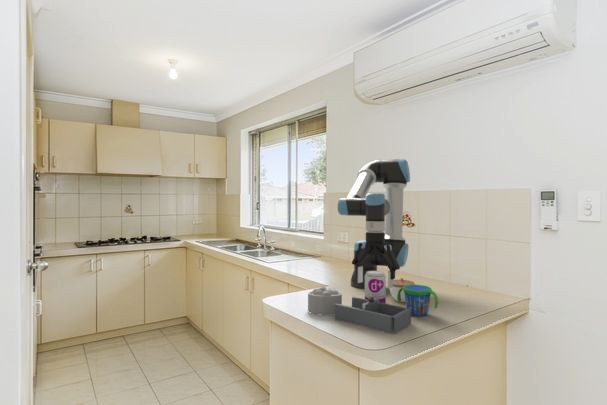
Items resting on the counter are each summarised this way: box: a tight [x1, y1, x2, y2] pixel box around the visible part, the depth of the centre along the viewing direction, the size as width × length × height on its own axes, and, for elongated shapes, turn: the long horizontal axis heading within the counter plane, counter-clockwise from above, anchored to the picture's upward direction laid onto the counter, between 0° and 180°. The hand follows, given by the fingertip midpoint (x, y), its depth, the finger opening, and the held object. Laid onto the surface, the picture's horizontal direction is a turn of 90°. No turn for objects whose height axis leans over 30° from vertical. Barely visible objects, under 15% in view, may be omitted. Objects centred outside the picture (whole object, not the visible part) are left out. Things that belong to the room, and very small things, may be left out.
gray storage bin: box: [334, 296, 412, 335], centre depth 134 cm, size 24×13×6 cm, turn 50°
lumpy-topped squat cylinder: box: [307, 286, 343, 316], centre depth 147 cm, size 10×13×9 cm
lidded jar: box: [389, 278, 416, 303], centre depth 162 cm, size 11×11×9 cm
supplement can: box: [364, 270, 387, 304], centre depth 148 cm, size 8×8×15 cm
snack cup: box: [397, 284, 439, 317], centre depth 143 cm, size 16×10×10 cm
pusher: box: [362, 297, 379, 313], centre depth 134 cm, size 2×10×7 cm, turn 140°
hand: (374, 285), depth 147 cm, fingers open, 13 cm apart
